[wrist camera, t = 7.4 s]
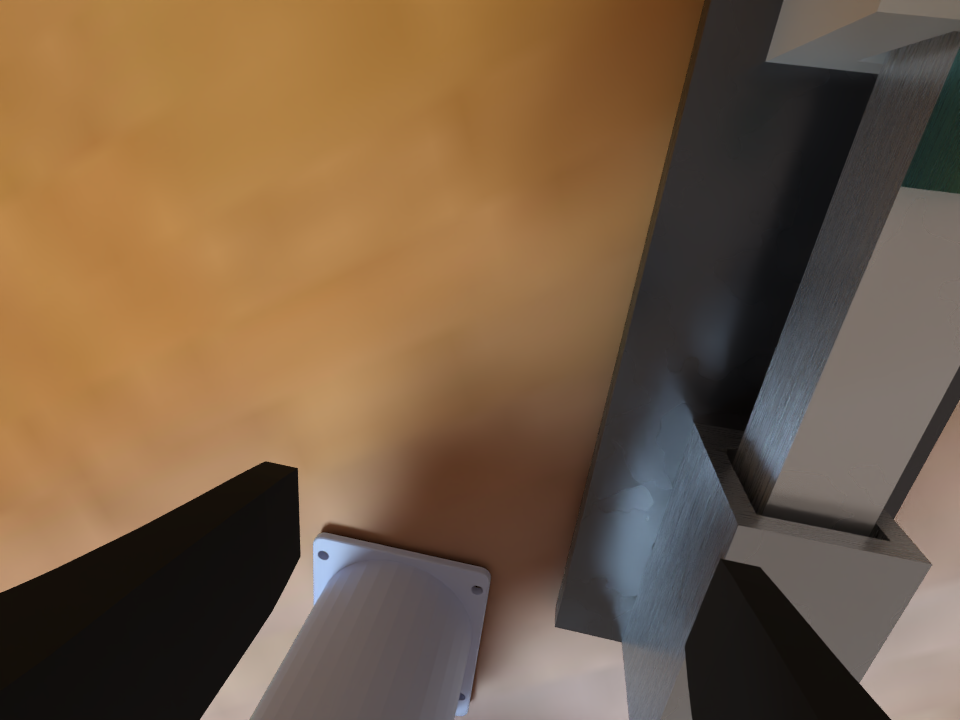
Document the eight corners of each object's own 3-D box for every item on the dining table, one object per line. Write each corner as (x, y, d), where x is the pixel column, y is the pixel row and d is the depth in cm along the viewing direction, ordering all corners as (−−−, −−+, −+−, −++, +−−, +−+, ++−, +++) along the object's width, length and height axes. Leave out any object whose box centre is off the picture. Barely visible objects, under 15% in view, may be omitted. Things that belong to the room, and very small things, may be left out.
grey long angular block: (793, 661, 22) (870, 842, 16) (555, 607, 23) (549, 759, 17) (1191, -96, 12) (1762, -322, 6) (736, -129, 13) (863, -347, 7)
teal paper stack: (797, 532, 16) (961, 815, 9) (712, 515, 17) (812, 778, 10) (1081, -80, 10) (2142, -552, 3) (939, -90, 11) (1645, -546, 4)
